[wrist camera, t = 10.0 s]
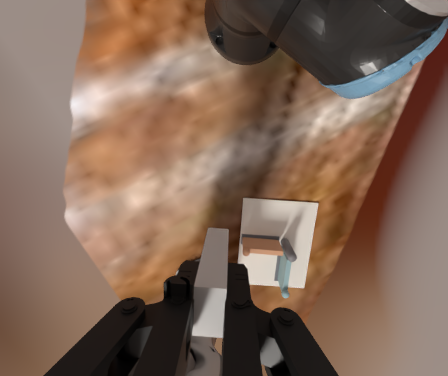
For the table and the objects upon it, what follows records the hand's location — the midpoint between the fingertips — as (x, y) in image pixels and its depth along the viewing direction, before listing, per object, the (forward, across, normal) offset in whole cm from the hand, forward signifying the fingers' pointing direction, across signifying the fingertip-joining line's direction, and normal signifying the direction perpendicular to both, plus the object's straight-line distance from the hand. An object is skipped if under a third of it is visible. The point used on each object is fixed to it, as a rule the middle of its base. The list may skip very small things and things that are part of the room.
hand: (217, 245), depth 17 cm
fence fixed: (+32, +14, -19) cm, 40 cm away
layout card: (+32, +12, -16) cm, 38 cm away
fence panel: (+32, +8, -15) cm, 36 cm away
